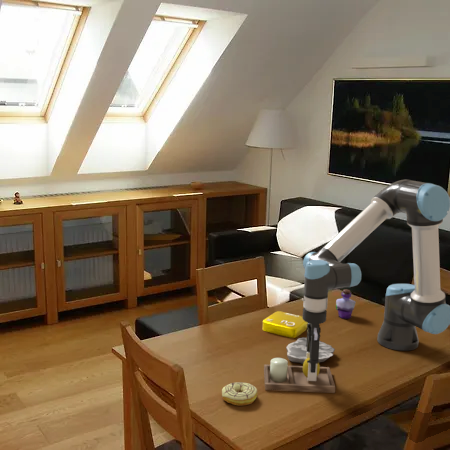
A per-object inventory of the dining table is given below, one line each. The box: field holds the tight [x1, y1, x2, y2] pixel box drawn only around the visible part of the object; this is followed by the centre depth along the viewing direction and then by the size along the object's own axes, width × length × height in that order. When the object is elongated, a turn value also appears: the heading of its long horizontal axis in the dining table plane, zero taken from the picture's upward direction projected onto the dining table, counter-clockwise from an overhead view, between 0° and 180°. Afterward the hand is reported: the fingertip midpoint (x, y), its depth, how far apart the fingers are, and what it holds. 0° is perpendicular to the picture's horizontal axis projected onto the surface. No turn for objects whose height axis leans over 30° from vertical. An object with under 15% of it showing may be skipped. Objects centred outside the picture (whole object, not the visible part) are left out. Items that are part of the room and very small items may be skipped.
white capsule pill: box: [269, 357, 289, 383], centre depth 189 cm, size 6×6×6 cm
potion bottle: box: [335, 288, 356, 320], centre depth 247 cm, size 9×9×12 cm
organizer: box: [263, 364, 336, 394], centre depth 190 cm, size 22×14×2 cm, turn 88°
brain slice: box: [285, 337, 336, 365], centre depth 209 cm, size 20×17×3 cm
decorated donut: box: [221, 381, 258, 407], centre depth 178 cm, size 10×11×4 cm
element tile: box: [261, 310, 308, 339], centre depth 234 cm, size 15×15×5 cm
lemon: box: [302, 358, 321, 378], centre depth 189 cm, size 6×6×8 cm
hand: (310, 375), depth 189 cm, fingers open, 6 cm apart
